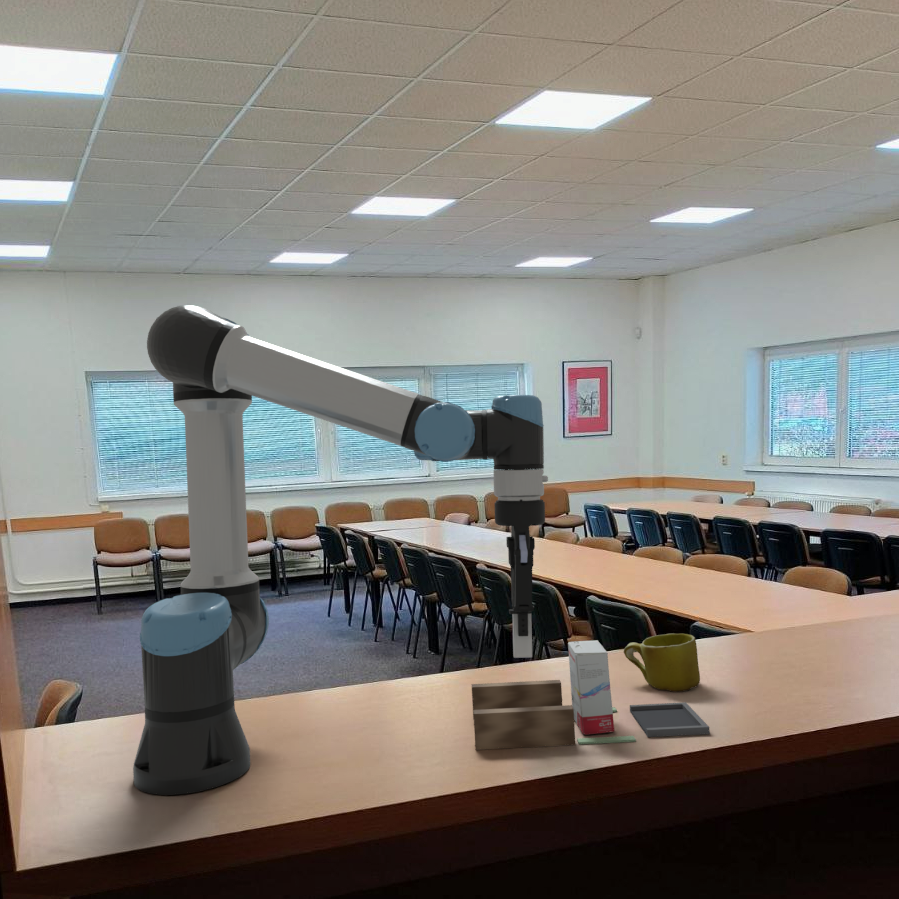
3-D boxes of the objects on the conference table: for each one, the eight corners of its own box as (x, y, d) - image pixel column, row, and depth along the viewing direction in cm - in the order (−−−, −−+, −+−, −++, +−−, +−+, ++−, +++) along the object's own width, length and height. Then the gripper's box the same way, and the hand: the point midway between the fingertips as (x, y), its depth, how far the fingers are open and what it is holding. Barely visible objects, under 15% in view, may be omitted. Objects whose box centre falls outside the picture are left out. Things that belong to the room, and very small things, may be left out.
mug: (715, 668, 140) (696, 618, 139) (701, 702, 132) (680, 649, 131) (651, 674, 147) (632, 626, 146) (633, 706, 139) (613, 656, 138)
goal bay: (578, 744, 112) (578, 742, 112) (564, 711, 127) (564, 709, 127) (635, 741, 112) (635, 739, 112) (615, 709, 127) (614, 707, 127)
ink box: (615, 734, 116) (610, 652, 116) (580, 736, 116) (575, 654, 116) (603, 715, 124) (599, 638, 125) (570, 717, 124) (566, 640, 125)
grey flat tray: (647, 737, 114) (647, 729, 114) (629, 711, 125) (629, 705, 125) (709, 734, 114) (709, 726, 114) (686, 708, 125) (685, 702, 125)
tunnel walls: (475, 749, 112) (473, 713, 112) (473, 715, 127) (471, 684, 127) (575, 744, 112) (573, 709, 112) (561, 711, 127) (559, 679, 127)
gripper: (549, 500, 114) (553, 667, 113) (539, 496, 127) (543, 645, 126) (496, 501, 114) (500, 668, 113) (492, 496, 127) (495, 646, 126)
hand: (522, 656), depth 120 cm, fingers closed
